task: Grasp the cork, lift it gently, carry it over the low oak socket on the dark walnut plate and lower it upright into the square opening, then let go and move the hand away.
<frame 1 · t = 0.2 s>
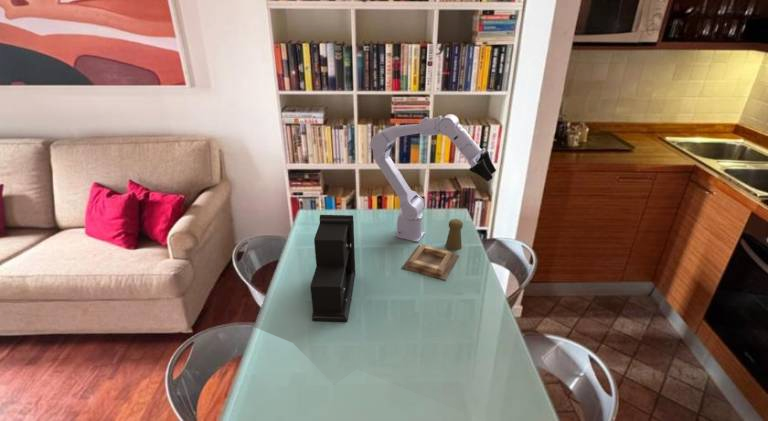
hand: (492, 176, 138), 31 cm above the table, tool tilted 45°, fingers open, 7 cm apart
socket block: (431, 262, 146), on the table
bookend: (335, 296, 130), on the table
cork: (453, 246, 156), on the table
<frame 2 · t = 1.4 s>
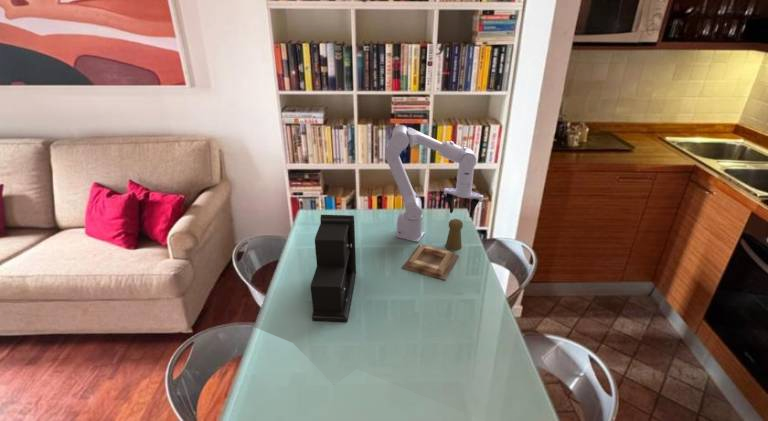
hand: (461, 214, 157), 10 cm above the table, tool pointing down, fingers open, 7 cm apart
nothing on the table moved.
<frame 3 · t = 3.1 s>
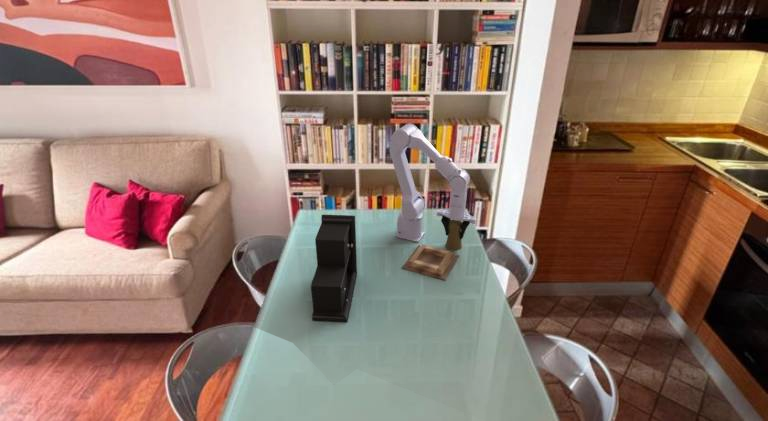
hand: (454, 235, 154), 4 cm above the table, tool pointing down, fingers closed on cork, 5 cm apart
cork: (453, 246, 156), on the table, touching gripper
everything else where it was.
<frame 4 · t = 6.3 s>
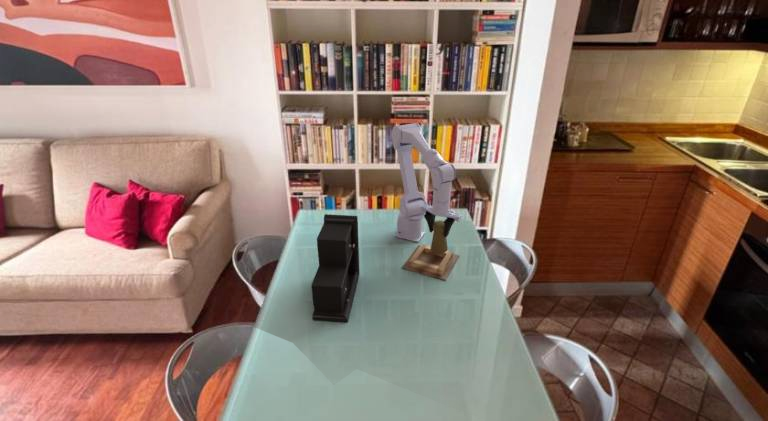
hand: (439, 233, 144), 10 cm above the table, tool pointing down, fingers closed on cork, 5 cm apart
cork: (439, 248, 148), point 3 cm above the table, touching gripper
everything else where it was.
when the fingers open (8 cm above the table, at t = 8.4 s): cork stays where it is, resting on socket block.
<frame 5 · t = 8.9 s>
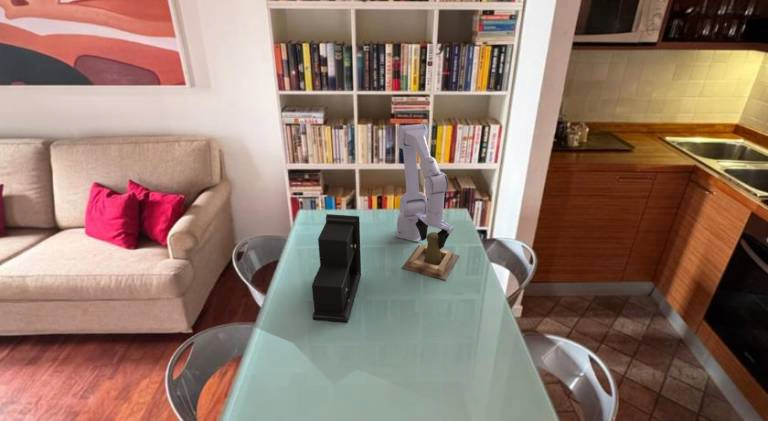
hand: (432, 243, 143), 8 cm above the table, tool pointing down, fingers open, 7 cm apart
cork: (432, 260, 147), resting on socket block
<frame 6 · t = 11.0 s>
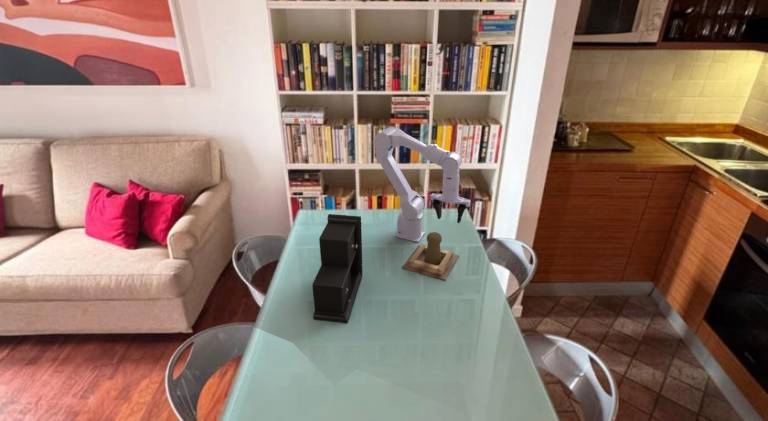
hand: (449, 220, 152), 10 cm above the table, tool pointing down, fingers open, 7 cm apart
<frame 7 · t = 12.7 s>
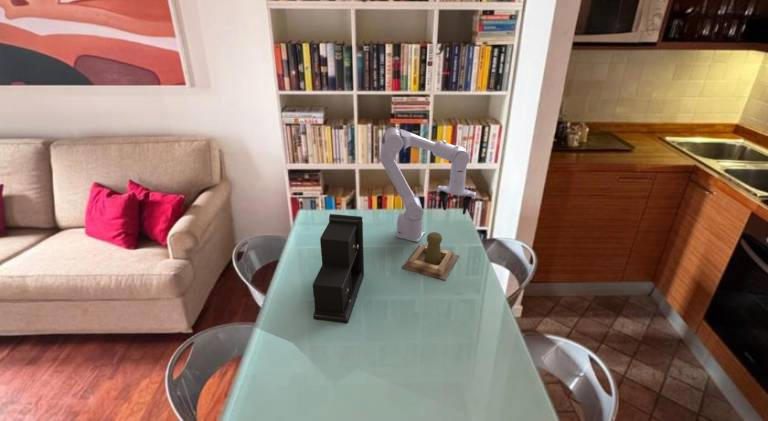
hand: (454, 211, 159), 10 cm above the table, tool pointing down, fingers open, 7 cm apart
at the end: cork 0.8 cm off-centre on the socket block, point 0.2 cm above the socket block's base; cork tilted 0°; the gripper is holding nothing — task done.
